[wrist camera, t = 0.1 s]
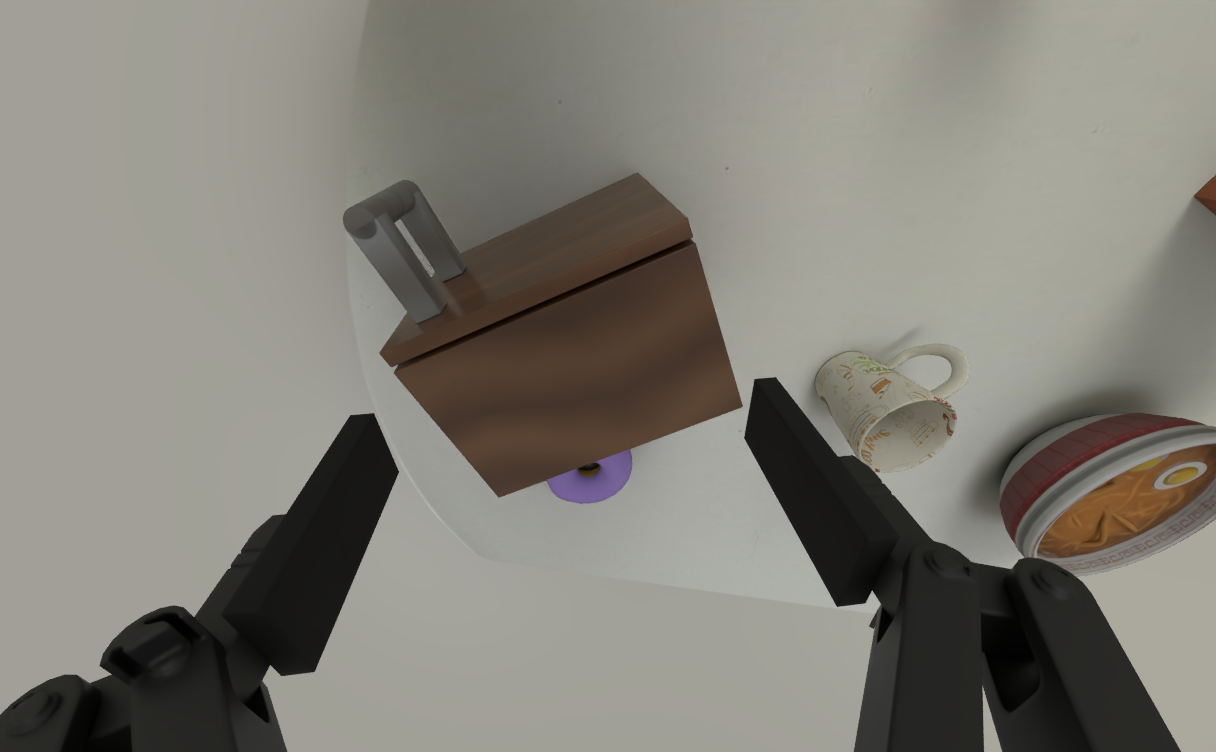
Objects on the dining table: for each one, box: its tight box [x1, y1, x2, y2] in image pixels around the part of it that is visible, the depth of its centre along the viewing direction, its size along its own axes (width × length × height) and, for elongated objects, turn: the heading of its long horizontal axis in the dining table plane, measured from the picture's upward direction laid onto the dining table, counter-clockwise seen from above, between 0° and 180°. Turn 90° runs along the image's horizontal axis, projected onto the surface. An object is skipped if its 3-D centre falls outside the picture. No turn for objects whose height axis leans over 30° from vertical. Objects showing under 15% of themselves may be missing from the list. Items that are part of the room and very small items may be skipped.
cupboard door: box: [343, 173, 693, 367], centre depth 26 cm, size 7×17×15 cm, turn 112°
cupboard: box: [394, 238, 743, 497], centre depth 31 cm, size 11×17×15 cm, turn 112°
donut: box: [546, 449, 632, 504], centre depth 46 cm, size 10×9×5 cm
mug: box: [815, 344, 970, 473], centre depth 40 cm, size 8×13×10 cm, turn 134°
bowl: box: [1000, 413, 1216, 577], centre depth 52 cm, size 23×23×10 cm
